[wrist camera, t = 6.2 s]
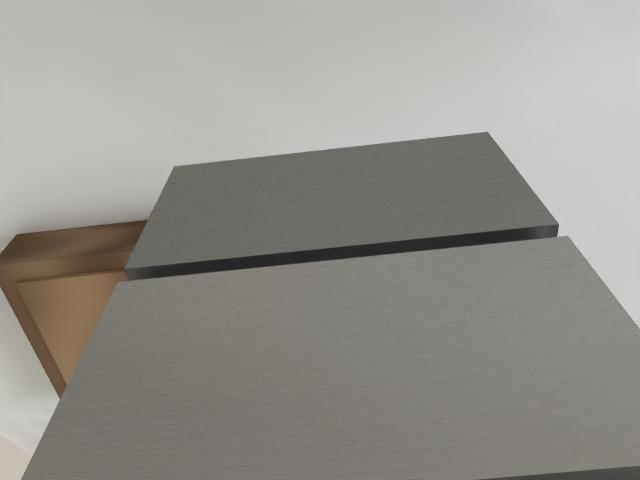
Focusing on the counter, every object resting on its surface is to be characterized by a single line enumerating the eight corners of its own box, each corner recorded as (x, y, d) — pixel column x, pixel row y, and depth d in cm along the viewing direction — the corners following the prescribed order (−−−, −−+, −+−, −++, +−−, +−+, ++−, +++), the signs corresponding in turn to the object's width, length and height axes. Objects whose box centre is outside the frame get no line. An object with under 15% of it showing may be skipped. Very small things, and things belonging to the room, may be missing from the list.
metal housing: (487, 131, 10) (739, 457, 4) (472, 388, 14) (594, 751, 8) (174, 166, 10) (0, 520, 5) (241, 409, 14) (195, 777, 8)
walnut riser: (235, 210, 29) (228, 243, 26) (270, 370, 35) (267, 409, 33) (16, 234, 29) (-13, 269, 27) (90, 388, 36) (72, 428, 33)
